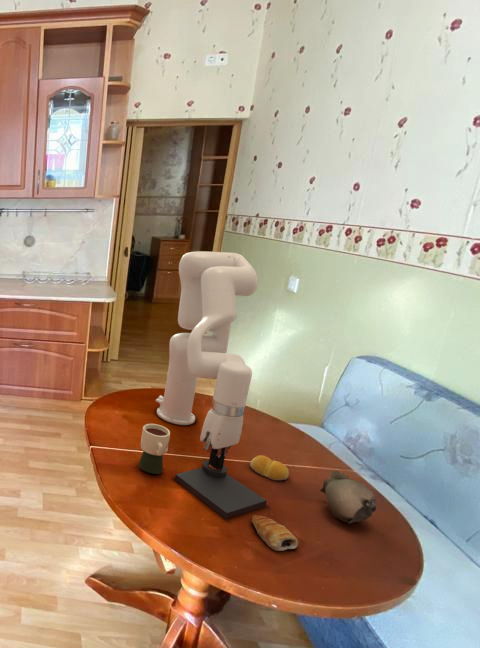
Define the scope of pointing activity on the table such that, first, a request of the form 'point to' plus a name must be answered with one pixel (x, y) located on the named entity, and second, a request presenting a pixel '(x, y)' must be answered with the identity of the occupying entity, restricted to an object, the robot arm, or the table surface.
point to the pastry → (274, 533)
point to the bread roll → (269, 468)
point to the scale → (220, 491)
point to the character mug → (153, 447)
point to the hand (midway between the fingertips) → (215, 466)
